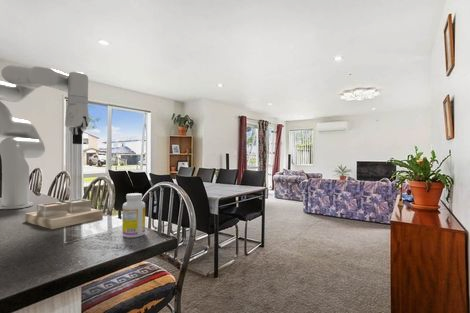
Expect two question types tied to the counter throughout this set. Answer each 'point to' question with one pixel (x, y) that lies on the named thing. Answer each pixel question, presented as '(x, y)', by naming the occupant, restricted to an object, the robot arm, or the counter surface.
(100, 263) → the counter surface
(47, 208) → the key panel
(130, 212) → the supplement bottle
